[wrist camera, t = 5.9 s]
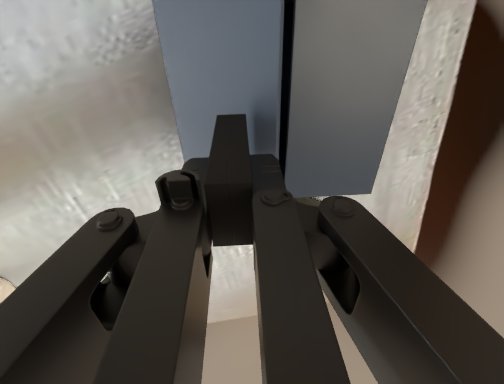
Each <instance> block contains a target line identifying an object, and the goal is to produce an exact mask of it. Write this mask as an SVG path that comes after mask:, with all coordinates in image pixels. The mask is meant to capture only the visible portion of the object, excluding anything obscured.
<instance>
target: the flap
mask: <svg viewBox="0 0 504 384" xmlns="http://www.w3.org/2000/svg"><path fill="white" fill-rule="evenodd" d="M152 4H153V9H154V14H155V19H156V24H157V29H158V34H159V39H160V44H161V49H162V54H163V59H164V64H165V69H166V74H167V79H168V84H169V89H170V94H171V98H172V103H173V108H174V113H175V118H176V123H177V128H178V133H179V138H180V143H181V148H182V153H183V158H184V163H186V162H187V161H188V160H189V159H190V158H204V157H209V154H210V149H211V144H212V138H213V133H214V128H215V123H216V117H217V115H229V114H246V121H247V132H248V142H249V153H250V155H253V154H273V155H274V156H275V157H276V158H277V159H278V160H279V133H280V105H281V78H282V50H283V23H284V0H152Z"/></svg>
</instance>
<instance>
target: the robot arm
mask: <svg viewBox="0 0 504 384" xmlns="http://www.w3.org/2000/svg"><path fill="white" fill-rule="evenodd" d="M155 184H156V187H157V191H158V194H159V198H160V201H161V206H160V208H159V210H158V211H156V212H153V213H150V214H146V215H142V216H138V217H135V216H134V213H133V212H132V211H131V210H130V209H126V208H112V209H108V210H105V211H103V212H100V213H98V214H96V215H95V216H94V217H92V218H91V219H90V220H89V221H87V222H86V223H85V224H84V225H83V226H82V227H81V228H80V229H79V230H78V231H77V232H76V233H75V234H74V235H73V236H72V237H70V238H69V239H68V240H67V241H66V242H65V243H64V244H63V245H62V246H61V247H60V248H59V249H58V250H57V251H56V252H55V253H53V254H52V255H51V256H50V257H49V258H48V259H47V260H46V261H45V262H44V263H43V264H42V265H41V266H40V267H39V268H38V269H36V270H35V271H34V272H33V273H32V274H31V275H30V276H29V277H28V278H27V279H26V280H25V281H24V282H23V283H22V284H20V285H19V286H18V287H17V288H16V289H15V290H14V291H13V292H12V293H11V294H10V295H9V296H8V297H7V298H6V299H5V300H3V301H2V302H1V303H0V384H201V380H202V369H203V357H204V347H205V337H206V326H207V315H208V305H209V294H210V283H211V272H212V261H213V256H212V250H211V245H212V241H213V247H214V246H233V245H251V244H253V249H254V270H255V282H256V297H257V311H258V323H259V324H258V326H259V340H260V355H261V370H262V384H350V380H349V377H348V374H347V370H346V367H345V364H344V360H343V358H342V354H341V351H340V347H339V344H338V341H337V338H336V334H335V331H334V328H333V324H332V321H331V318H330V315H329V312H328V308H327V305H326V302H325V298H324V295H323V292H322V290H323V291H324V293H325V295H326V296H327V298H328V300H329V301H330V303H331V305H332V306H333V308H334V310H335V311H336V313H337V315H338V316H339V318H340V320H341V322H342V323H343V325H344V327H345V328H346V330H347V332H348V333H349V335H350V337H351V338H352V340H353V341H354V343H355V345H356V346H357V348H358V350H359V352H360V353H361V355H362V357H363V359H364V360H365V362H366V364H367V365H368V367H369V369H370V370H371V372H372V373H373V375H374V377H375V379H376V381H377V382H378V384H504V338H503V337H502V336H501V335H499V334H498V333H497V332H496V331H495V330H494V329H493V328H492V327H491V326H490V325H489V324H488V323H487V322H486V321H484V319H482V318H481V317H480V316H479V315H478V314H477V313H476V312H475V311H474V310H473V309H472V308H471V307H470V306H469V305H468V304H467V303H465V302H464V301H463V300H462V299H461V298H460V297H459V296H458V295H457V294H456V293H455V292H454V291H453V290H451V288H449V287H448V286H447V285H446V284H445V283H444V282H443V281H442V280H441V279H440V278H439V277H438V276H437V275H435V273H433V272H432V271H431V270H430V269H429V268H428V267H427V266H426V265H425V264H424V263H423V262H422V261H421V260H419V258H418V257H416V256H415V255H414V254H413V253H412V252H411V251H410V250H409V249H408V248H407V247H406V246H405V245H404V244H403V243H402V242H401V241H400V240H398V239H397V238H396V237H395V236H394V235H393V234H392V233H391V232H390V231H389V230H388V229H387V228H386V227H385V226H384V225H383V224H381V223H380V222H379V221H378V220H377V219H376V218H375V217H374V216H373V215H372V214H371V213H370V212H369V211H368V210H367V209H365V208H364V207H363V206H362V205H361V204H360V203H358V202H357V201H355V200H353V199H351V198H348V197H343V196H330V197H327V198H325V199H323V200H322V201H321V202H320V206H313V205H307V204H303V203H300V202H298V201H296V200H294V197H293V196H292V194H291V193H290V192H289V191H287V189H286V186H285V182H284V179H283V175H282V172H281V168H280V165H279V161H278V159H277V158H276V157H275V156H274V155H273V154H253V155H250V153H249V142H248V132H247V121H246V114H229V115H217V117H216V123H215V128H214V133H213V138H212V144H211V149H210V154H209V157H204V158H190V159H189V160H188V161H187V162H186V163H184V165H183V168H182V170H174V171H171V172H168V173H165V174H163V175H162V176H160V177H159V178H158V179H157V180H156V181H155ZM106 274H108V275H107V277H106V278H105V279H104V280H103V281H102V282H100V281H101V280H102V279H103V277H104V276H105V275H106ZM321 288H322V289H321Z"/></svg>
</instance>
